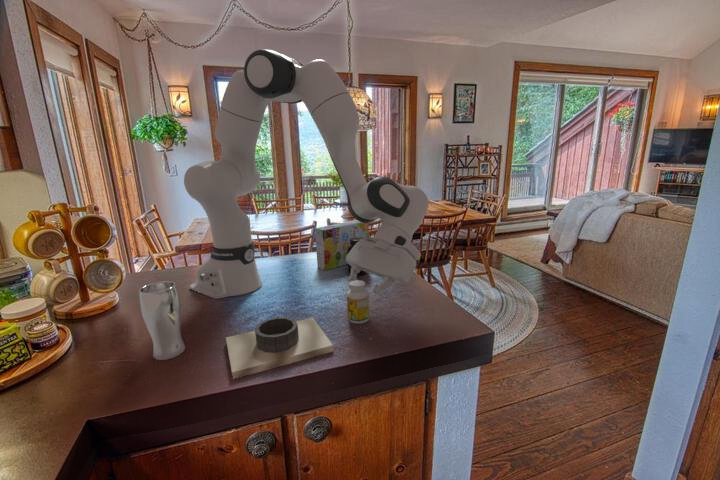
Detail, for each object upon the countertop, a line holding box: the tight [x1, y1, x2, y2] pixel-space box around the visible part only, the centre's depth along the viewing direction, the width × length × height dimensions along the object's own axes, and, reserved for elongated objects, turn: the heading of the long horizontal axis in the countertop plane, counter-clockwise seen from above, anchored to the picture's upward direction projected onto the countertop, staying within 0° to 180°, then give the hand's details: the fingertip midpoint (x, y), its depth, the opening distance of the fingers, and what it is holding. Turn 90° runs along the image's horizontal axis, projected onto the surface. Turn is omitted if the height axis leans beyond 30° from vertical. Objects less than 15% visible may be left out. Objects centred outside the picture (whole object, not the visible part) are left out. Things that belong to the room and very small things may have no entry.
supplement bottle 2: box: [346, 279, 370, 325], centre depth 85 cm, size 5×5×10 cm
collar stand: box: [225, 316, 334, 380], centre depth 74 cm, size 20×14×5 cm
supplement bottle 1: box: [347, 237, 368, 276], centre depth 118 cm, size 7×7×12 cm
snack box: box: [314, 219, 370, 272], centre depth 128 cm, size 21×6×15 cm, turn 130°
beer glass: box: [138, 280, 186, 361], centre depth 72 cm, size 7×7×15 cm
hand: (363, 288), depth 86 cm, fingers open, 8 cm apart
